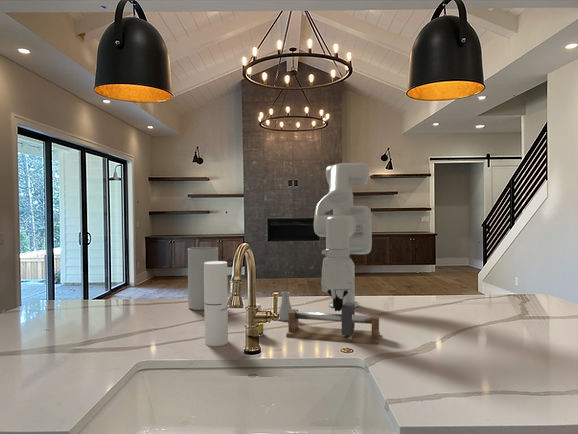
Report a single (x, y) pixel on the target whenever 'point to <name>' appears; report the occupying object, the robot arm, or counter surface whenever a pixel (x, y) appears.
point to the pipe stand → (333, 331)
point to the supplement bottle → (260, 324)
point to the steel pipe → (331, 317)
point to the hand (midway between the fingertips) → (338, 310)
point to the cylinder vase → (198, 274)
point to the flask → (284, 307)
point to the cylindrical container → (216, 303)
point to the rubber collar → (347, 319)
